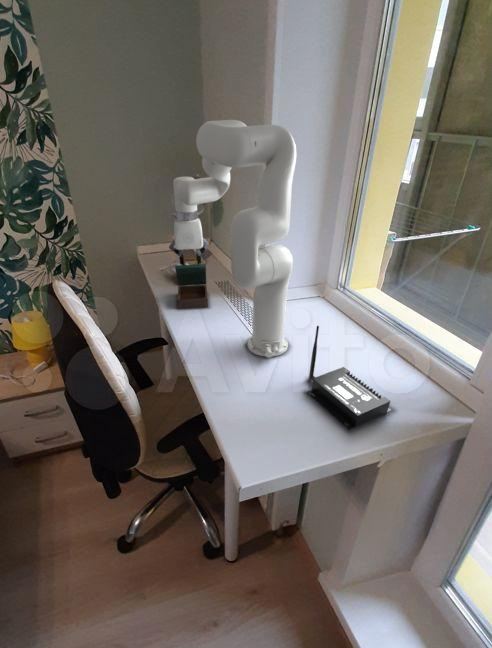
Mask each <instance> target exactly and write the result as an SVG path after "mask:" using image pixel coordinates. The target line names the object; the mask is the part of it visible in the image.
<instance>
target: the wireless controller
mask: <svg viewBox="0 0 492 648" xmlns="http://www.w3.org/2000/svg"><path fill="white" fill-rule="evenodd" d="M319 329H320V325H316V329H315V337H314V342H313V347H312V352H311V359H310V366H309V374H308V380H309V381H312V382H311V390H308V391H306V394H307V395H309V396H310V397H311V398H312V399H313V400H315V402H317V403H318V404H319V405H320V406H321V407H322V408H323V409H324V410H325V411H326V412H327V413H329V414H330V415H331V416H332V417H333V418H334V419H336V421H338V422H339V423H340V424H341V425H342V426H343V427H345V429H347V430H349V431H350V430H352V429H355V428H357V427H359V426H362V425H364V424H366V423H368V422H371V421H373V420H375V419H377V418H379V417H381V416H383V415H385V414H388V413H389V412H391V411H392V408H390V405H391V400H390V399H388V398H387V397H386V396H383V397H382V394H380V395H379V392H377V393H376V390H374V388H372V387H371V388H370V385H368V386H367V383H364V381H362V380H361V379H359V377H356V375H354V374H353V373H351V371H350V370H349V369H347V368H346V367H345V366H342V367H339V368H337V369H334V370H331V371H328V372H326V373H323V374H320V375H318V376H315V375H314V374H315V367H316V360H317V351H318V338H319V337H318V336H319ZM373 390H374V391H373Z"/></svg>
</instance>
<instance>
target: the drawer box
mask: <svg viewBox="0 0 492 648" xmlns="http://www.w3.org/2000/svg"><path fill="white" fill-rule="evenodd" d="M177 286H178V285H177ZM207 287H208V285H207V284H203V285H190V286H185V285H183V286H178V287H177V308H178V310H188V309H190V310H191V309H204V308H209V298H208V289H207Z"/></svg>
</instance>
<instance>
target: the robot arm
mask: <svg viewBox="0 0 492 648" xmlns="http://www.w3.org/2000/svg"><path fill="white" fill-rule="evenodd" d="M195 145H196V149H197V151H198V154H199V155H200V157H202V159H201V166H202V168H203V170H204V172H205V174H207V175H208V176H209V177H201V178H196V179H195V178H194V177H192V176H178V177H176V178H174V179H173V182H172V184H173V197H174V206H175V207H174V208H175V211H174V212H171V217H172V218H175V219H174V221H173V222H174V223H173V236H174V237H173V238H174V239H173V240H172V241H171V242H170V244H169V246H168V249H169V250H171V251H172V252H174V253H175V254H176V255H177V256H178V257H179V262H180V264H182V265H184V260H183V257H184V251H185V250H187V251H188V250H195V251H196V257H197V264H202V254H204V252H206V250H207V249H208V248H209V247H210V242H209V241H207V240H206V239H205V237H204V236H203V227H202V222H201V219H200V218H199V216H198V215H199V214H198V205H201V204H208V203H214V202H217V201H218V200H220V199H221V198H222V197H223V196H224V195H225V194H226V192H227V191H228V190H229V188H230V185H231V170H232V169H240V168H246V167H247V168H248V167H255V166H262V165H265V168H264V170H263V171H262V173H261V175H260V178H259V180H258V184H257V188H256V192H257V193H256V194H257V195H256V203H255V204H256V205H255V206H253V207H249V208H245V209H242V210H240V211H238V212H237V213H236V214H235V215H234V217H233V219H232V221H231V225H230V266H231V268H230V269H231V276H232V279H233V281H234V283H235V285H236V286H237V287H238V288H240V289H242V290H251V289H254V291H253V304H252V336H250V337H249V338H248V339H247V343H246V345H247V348H248V350H249V352H251V353H252V354H254V355H258V356H260V357H266V358H268V359H270V358H272V357H278V356H280V355H283V354H284V353H285V352H286V351H287V350H288V348H289V343H288V340H287V338H285V337H284V336H285V322H286V310H287V308H286V307H287V298H288V288H289V283H290V279H291V276H292V272H293V268H294V257H293V255H292V252H291V251H290V250H289V249H288V247H286V246H284V245H281V244H273V243H277V242H280V241H282V240H283V239H285V238H286V237H287V236H288V234H289V231H290V226H291V211H292V197H293V196H292V194H293V190H292V189H293V180H294V175H295V170H296V165H297V145H296V142H295V139H294V137H293V135H292V134H291V132H290V131H289V130H287V129H286V128H285V127H283V126H281V125H276V124H258V125H257V124H256V125H247V124H246V123H244V122H243V121H241V120H238V119H223V120H221V119H220V120H208V121H206V122H204V123H203V124H202V125H200V127H199V128H198V131H197V133H196V138H195ZM270 244H272V245H270ZM266 245H267V246H266ZM262 246H263V247H262Z"/></svg>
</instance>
